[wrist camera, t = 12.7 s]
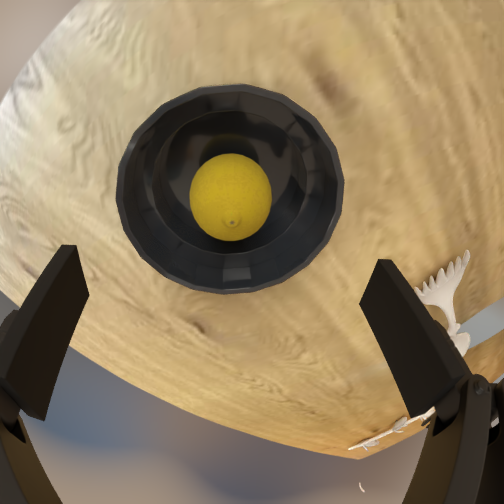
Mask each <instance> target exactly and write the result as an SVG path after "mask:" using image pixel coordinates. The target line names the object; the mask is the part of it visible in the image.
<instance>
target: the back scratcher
mask: <svg viewBox="0 0 504 504" xmlns="http://www.w3.org/2000/svg"><path fill="white" fill-rule="evenodd" d="M469 259H470V253H469V251H468V250H465V253H464V256H463V258H462V260H461V258H460V256H458V257H457V259H456V262H455V264H454V266H453V262H452V261H450V263H449V265H448V268H447V271H446V273H444V270H443V268H440V270H439V271H438V274H437V277H436V281H435V282H434V278H433V276H430V280H429V286H427V284H426V282H425V281H423V290H419V289H418V288H417V287H415V293H416V294H417V296H418V297H419V299H420V300H421V302H422V303H424V304H426V305H436V306H439V307H440V308H441V309H442V310H443V312H444V313H445V315H446V317H447V320H448V324H449V327H448V330H447V333H448V334H449V336H450V337H451V338H450V339H452V341H453V342H454V344H455V347H457V349H458V351H459V352H460V354H461V356H462V357H463V356H464V355H465V353H466V351H467V349H468V347H469V344H470V335H469V333H466V332H462V333H457V331H458V330H459V328H460V326H461V325H460V324H459V323H458V324H456V320H455V314H454V309H453V295H454V292H455V290H456V288H457V286H458V284H459V282H460V281H461V278H462V276H463V273H464V270H465V268H466V266H467V264H468V262H469ZM456 333H457V334H456Z"/></svg>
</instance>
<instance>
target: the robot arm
mask: <svg viewBox="0 0 504 504" xmlns="http://www.w3.org/2000/svg"><path fill="white" fill-rule="evenodd" d="M88 297H89V292H88V288H87V285H86V281H85V278H84V274H83V270H82V266H81V262H80V258H79V254H78V250H77V245H61V247H60V248H59V249H58V251H57V252H56V253H55V255H54V256H53V258H52V259H51V261H50V262H49V263H48V265H47V266H46V268H45V269H44V271H43V272H42V274H41V275H40V277H39V278H38V280H37V281H36V283H35V285H34V286H33V288H32V289H31V291H30V293H29V294H28V296H27V297H26V299H25V301H24V302H23V304H22V306H21V308H20V309H19V311H18V310H13V311H12V312H11V313H10V314H9V315H8V316H7V317H6V318H5V319H4V321H3V323H2V324H1V326H0V504H63V503H62V502H61V500H60V498H59V497H58V495H57V493H56V491H55V490H54V488H53V486H52V485H51V483H50V481H49V479H48V477H47V475H46V473H45V471H44V469H43V467H42V465H41V463H40V461H39V459H38V457H37V454H36V452H35V450H34V448H33V446H32V443H31V441H30V438H29V436H28V434H27V431H26V428H25V426H24V423H23V420H22V418H21V417H20V415H19V412H20V408H21V409H22V410H23V411H24V412H25V413H26V414H27V415H28V416H30V417H33V418H36V419H39V420H42V421H44V420H45V417H46V414H47V410H48V407H49V403H50V399H51V396H52V393H53V389H54V386H55V383H56V380H57V377H58V374H59V371H60V367H61V365H62V362H63V359H64V357H65V354H66V351H67V348H68V346H69V343H70V340H71V338H72V335H73V333H74V330H75V328H76V325H77V323H78V320H79V318H80V316H81V313H82V311H83V309H84V306H85V304H86V302H87V300H88ZM359 305H360V307H361V309H362V311H363V313H364V315H365V317H366V319H367V321H368V323H369V325H370V327H371V329H372V331H373V333H374V335H375V337H376V340H377V342H378V344H379V346H380V348H381V350H382V352H383V354H384V357H385V359H386V361H387V363H388V365H389V368H390V370H391V372H392V374H393V377H394V379H395V381H396V384H397V386H398V388H399V391H400V393H401V395H402V398H403V400H404V403H405V405H406V407H407V410H408V412H409V415H410V417H411V418H414V417H417V416H420V415H423V414H425V413H426V412H428V411H429V410H430V409H431V408H432V407H433V406H434V408H435V410H436V411H435V412H434V413H433V414H432V415H430V416H429V417H428V418H427V419H426V420H424V421H423V423H422V425H421V426H424V425H426V424H427V423H428V422H429V421H430V424H429V425H428V426H427V427H426V428H428V432H427V436H426V439H425V442H424V446H423V449H422V452H421V455H420V458H419V461H418V464H417V467H416V470H415V473H414V475H413V479H412V481H411V483H410V486H409V488H408V491H407V493H406V496H405V498H404V500H403V502H402V504H504V378H503V379H502V380H501V381H500V382H499V383H498V384H497V383H489V382H488V381H487V380H486V378H484V377H483V376H482V375H479V374H474V375H473V374H472V373H471V371H470V369H469V368H468V366H467V364H466V362H465V361H464V359H463V357H462V356H461V354H460V352H459V351H458V349H457V347H455V344H454V342H453V341H452V339H450V338H451V337H450V336H449V334H448V333H447V331H446V330H445V328H444V327H443V326H442V325H441V324H440V323H439V322H437V321H436V320H433V318H432V317H431V315H430V314H429V312H428V311H427V309H426V308H425V306H424V305H423V303H422V302H421V300H420V299H419V297H418V296H417V294H416V293H415V292H414V290H413V289H412V287H411V286H410V285H409V283H408V282H407V280H406V279H405V278H404V276H403V275H402V273H401V272H400V271H399V269H398V268H397V267H396V265H395V264H394V263H393V261H392V260H388V259H378V261H377V263H376V266H375V268H374V271H373V273H372V275H371V278H370V280H369V282H368V285H367V287H366V289H365V292H364V294H363V296H362V298H361V301H360V303H359ZM497 417H499V423H498V424H497V425H496V426H494V427H493V428H492V427H491V422H492V421H494V420H495V419H496V418H497Z"/></svg>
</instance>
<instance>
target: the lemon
mask: <svg viewBox="0 0 504 504" xmlns="http://www.w3.org/2000/svg"><path fill="white" fill-rule="evenodd" d="M189 195H190V207H191V210H192V213H193V216H194V218H195V220H196V222H197V223H198V224H199V226H200V227H201V228H202V229H203V230H204V231H205V232H206V233H207V234H209V235H211V236H213V237H215V238H217V239H221V240H225V241H236V240H241V239H244V238H246V237H249V236H251V235H252V234H254V233H255V232H257V231H258V230H259V228H260V227H261V226H262V225H263V224H264V222H265V221H266V219H267V217H268V215H269V212H270V207H271V202H272V194H271V186H270V183H269V180H268V177H267V175H266V174H265V172H264V171H263V169H262V168H261V167H260V166H259V165H258V164H257V163H256V162H254V161H253V160H252V159H250V158H248V157H246V156H243V155H239V154H234V153H232V154H222V155H219V156H216V157H213V158H212V159H210V160H208V161H207V162H205V163H204V164H203V165H202V166H201V167H200V169H199V170H198V171H197V173H196V174H195V176H194V178H193V180H192V184H191V188H190V193H189Z"/></svg>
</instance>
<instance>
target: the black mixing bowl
mask: <svg viewBox="0 0 504 504" xmlns="http://www.w3.org/2000/svg"><path fill="white" fill-rule="evenodd" d="M232 153H234V154H239V155H243V156H246V157H248V158H250V159H252V160H253V161H254V162H256V163H257V164H258V165H259V166H260V167H261V168H262V169H263V171H264V172H265V174H266V175H267V177H268V180H269V183H270V186H271V194H272V202H271V207H270V212H269V215H268V217H267V219H266V221H265V222H264V224H263V225H262V226H261V227H260V228H259V230H258V231H257V232H255V233H254V234H252V235H251V236H249V237H246V238H244V239H241V240H236V241H225V240H221V239H217V238H215V237H213V236H211V235H209V234H207V233H206V232H205V231H204V230H203V229H202V228H201V227H200V226H199V224H198V223H197V222H196V220H195V218H194V216H193V213H192V210H191V207H190V195H189V193H190V188H191V184H192V180H193V178H194V176H195V174H196V173H197V171H198V170H199V169H200V167H201V166H202V165H203V164H204V163H205V162H207V161H208V160H210V159H212V158H213V157H216V156H219V155H222V154H232ZM343 193H344V177H343V172H342V168H341V164H340V160H339V156H338V152H337V149H336V147H335V145H334V144H333V142H332V141H331V139H330V138H329V136H328V135H327V133H326V132H325V130H324V129H323V127H322V126H321V124H320V123H319V122H318V120H317V119H316V118H315V117H314V116H313V115H312V114H310V113H309V112H308V111H306V110H305V109H303V108H302V107H301V106H299V105H298V104H296V103H295V102H294V101H292V100H291V99H289V98H288V97H286V96H285V95H283V94H280V93H276V92H273V91H270V90H266V89H262V88H259V87H255V86H251V85H247V84H239V83H238V84H223V85H211V86H203V87H199V88H197V89H194V90H192V91H190V92H188V93H185V94H183V95H181V96H179V97H177V98H174V99H172V100H170V101H168V102H166V103H164V104H163V105H161V106H160V107H159V108H158V109H157V110H156V111H155V112H154V113H153V114H152V115H151V116H150V117H149V118H148V119H147V120H146V121H145V122H144V123H143V124H142V125H141V126H140V127H139V128H138V129H137V130H136V131H135V132H134V133H133V136H132V138H131V140H130V142H129V144H128V146H127V148H126V150H125V152H124V154H123V157H122V159H121V161H120V163H119V166H118V176H117V187H116V203H117V207H118V211H119V215H120V219H121V223H122V226H123V230H124V232H125V234H126V235H127V237H128V238H129V240H130V241H131V243H132V245H133V246H134V248H135V249H136V251H137V252H138V254H139V255H140V257H141V258H142V259H144V260H145V261H146V262H147V263H148V264H149V265H151V266H152V267H153V268H154V269H155V270H157V271H158V272H159V273H160V274H161V275H163V276H164V277H166V278H168V279H170V280H172V281H174V282H177V283H179V284H181V285H183V286H186V287H188V288H190V289H193V290H198V291H204V292H210V293H216V294H223V295H225V294H238V293H250V292H255V291H258V290H261V289H264V288H267V287H270V286H273V285H276V284H279V283H282V282H284V281H285V280H287V279H288V278H290V277H291V276H293V275H295V274H296V273H298V272H299V271H301V270H302V269H304V268H305V267H307V266H308V265H309V264H310V263H311V262H312V261H313V259H314V258H315V257H316V256H317V255H318V254H319V253H320V251H321V250H322V249H323V248H324V247H325V246H326V245H327V243H328V242H329V240H330V238H331V236H332V233H333V231H334V229H335V227H336V224H337V222H338V220H339V218H340V215H341V212H342V202H343Z"/></svg>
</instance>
